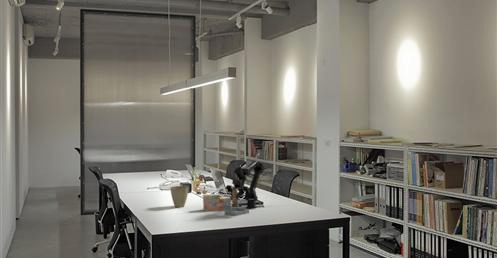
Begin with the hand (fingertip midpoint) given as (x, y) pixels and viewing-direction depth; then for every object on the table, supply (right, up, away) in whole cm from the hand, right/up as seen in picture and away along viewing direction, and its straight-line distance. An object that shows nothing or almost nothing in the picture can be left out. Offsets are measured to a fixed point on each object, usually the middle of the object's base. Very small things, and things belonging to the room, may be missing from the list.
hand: (234, 198), depth 363 cm
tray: (+2, -12, +4) cm, 13 cm away
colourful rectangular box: (-14, -12, +20) cm, 27 cm away
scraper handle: (+1, -7, +1) cm, 7 cm away
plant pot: (-46, -12, +32) cm, 57 cm away
